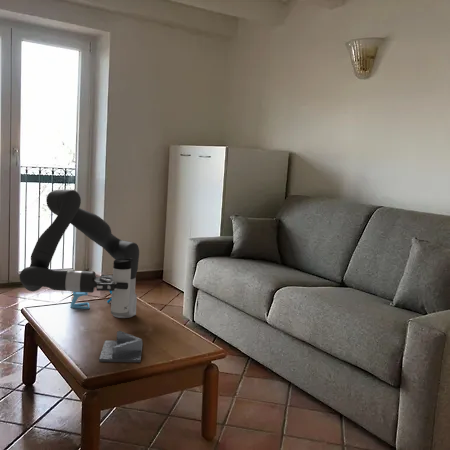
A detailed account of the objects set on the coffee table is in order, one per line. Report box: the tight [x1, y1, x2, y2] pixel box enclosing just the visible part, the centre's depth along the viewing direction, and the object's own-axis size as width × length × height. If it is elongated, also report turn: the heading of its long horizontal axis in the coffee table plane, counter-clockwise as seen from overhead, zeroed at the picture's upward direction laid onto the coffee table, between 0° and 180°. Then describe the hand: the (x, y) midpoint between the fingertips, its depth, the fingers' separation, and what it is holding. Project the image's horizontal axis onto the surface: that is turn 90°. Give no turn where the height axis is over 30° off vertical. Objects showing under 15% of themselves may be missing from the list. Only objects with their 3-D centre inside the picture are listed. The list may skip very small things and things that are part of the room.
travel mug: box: [110, 258, 133, 317], centre depth 184 cm, size 6×7×20 cm
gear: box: [106, 291, 112, 304], centre depth 248 cm, size 11×6×10 cm
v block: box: [98, 330, 144, 363], centre depth 186 cm, size 14×18×5 cm
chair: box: [69, 292, 90, 310], centre depth 237 cm, size 8×8×12 cm
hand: (128, 283), depth 184 cm, fingers closed on travel mug, 6 cm apart
